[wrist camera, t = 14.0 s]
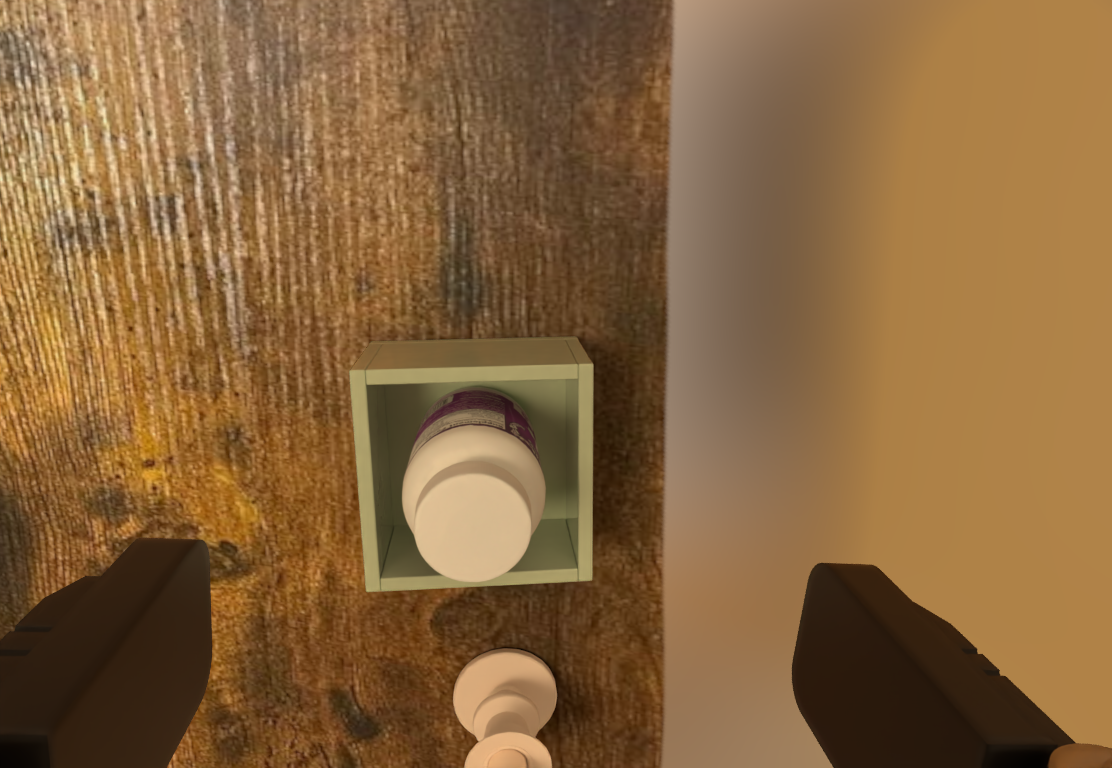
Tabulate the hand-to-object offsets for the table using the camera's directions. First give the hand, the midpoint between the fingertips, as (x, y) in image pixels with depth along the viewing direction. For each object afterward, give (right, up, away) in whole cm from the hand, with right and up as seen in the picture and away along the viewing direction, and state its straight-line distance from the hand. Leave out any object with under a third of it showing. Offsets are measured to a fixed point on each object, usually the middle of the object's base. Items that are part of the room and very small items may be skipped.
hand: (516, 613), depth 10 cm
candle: (-2, -13, +29) cm, 32 cm away
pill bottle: (-3, +1, +25) cm, 25 cm away
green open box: (-3, +1, +25) cm, 26 cm away
